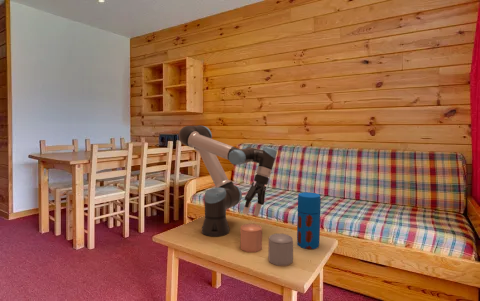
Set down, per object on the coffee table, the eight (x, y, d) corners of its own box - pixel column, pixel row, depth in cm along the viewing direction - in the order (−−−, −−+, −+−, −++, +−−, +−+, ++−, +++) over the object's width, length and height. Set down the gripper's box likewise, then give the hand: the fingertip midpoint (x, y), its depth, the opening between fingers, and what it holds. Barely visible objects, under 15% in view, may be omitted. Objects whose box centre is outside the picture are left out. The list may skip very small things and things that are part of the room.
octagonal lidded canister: (236, 247, 140) (236, 227, 139) (250, 241, 148) (250, 222, 147) (251, 253, 133) (252, 232, 133) (265, 247, 141) (266, 227, 140)
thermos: (319, 250, 138) (321, 198, 135) (296, 248, 140) (297, 196, 137) (318, 241, 148) (319, 192, 146) (297, 239, 150) (298, 191, 148)
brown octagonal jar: (264, 260, 127) (264, 237, 126) (277, 253, 134) (278, 231, 134) (283, 268, 120) (283, 244, 119) (296, 260, 127) (297, 237, 127)
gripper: (259, 172, 142) (246, 215, 140) (276, 181, 164) (265, 218, 161) (246, 169, 146) (233, 210, 143) (264, 178, 168) (253, 214, 165)
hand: (250, 214), depth 152 cm, fingers open, 13 cm apart
